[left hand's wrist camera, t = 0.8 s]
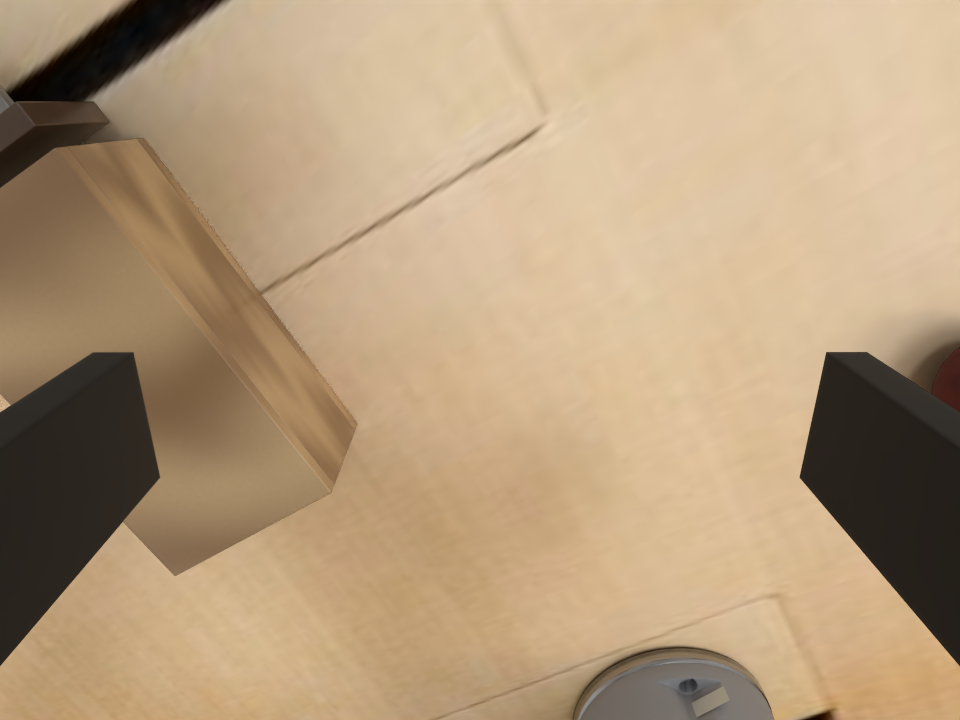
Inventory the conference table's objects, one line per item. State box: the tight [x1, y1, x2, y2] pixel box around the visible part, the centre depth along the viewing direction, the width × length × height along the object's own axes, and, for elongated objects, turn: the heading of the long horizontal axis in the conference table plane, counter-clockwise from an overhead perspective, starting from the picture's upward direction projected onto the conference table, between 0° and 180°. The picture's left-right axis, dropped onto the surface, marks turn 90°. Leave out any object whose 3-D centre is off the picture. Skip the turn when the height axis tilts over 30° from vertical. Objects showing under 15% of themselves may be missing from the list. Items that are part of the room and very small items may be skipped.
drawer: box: [0, 86, 109, 188], centre depth 34 cm, size 25×10×6 cm, turn 31°
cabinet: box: [0, 138, 357, 576], centre depth 36 cm, size 20×11×8 cm, turn 31°
